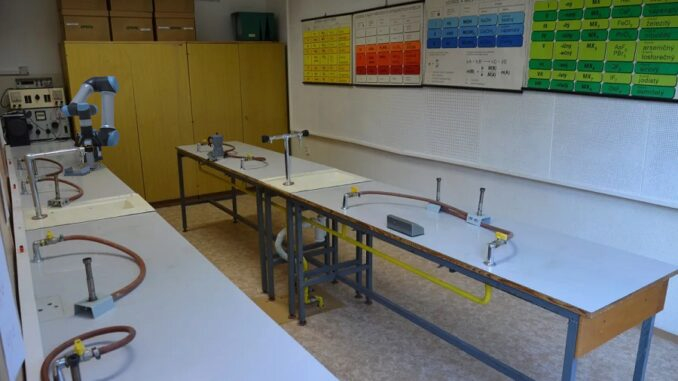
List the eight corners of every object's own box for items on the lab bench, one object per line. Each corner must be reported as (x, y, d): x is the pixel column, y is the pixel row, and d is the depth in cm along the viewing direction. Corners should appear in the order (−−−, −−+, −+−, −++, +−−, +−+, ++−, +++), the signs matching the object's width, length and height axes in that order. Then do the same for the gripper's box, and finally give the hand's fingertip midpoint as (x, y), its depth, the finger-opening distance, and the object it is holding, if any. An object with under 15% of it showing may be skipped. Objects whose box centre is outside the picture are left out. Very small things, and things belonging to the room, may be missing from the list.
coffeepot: (222, 153, 398) (220, 131, 394) (229, 154, 392) (227, 131, 387) (205, 156, 387) (203, 133, 383) (212, 157, 381) (210, 134, 376)
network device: (86, 165, 360) (81, 138, 355) (99, 164, 364) (95, 137, 359) (84, 171, 338) (80, 142, 333) (99, 170, 341) (94, 141, 336)
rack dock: (71, 172, 335) (70, 166, 334) (90, 172, 335) (89, 165, 334) (64, 176, 325) (63, 169, 324) (83, 175, 326) (82, 168, 324)
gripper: (65, 126, 340) (70, 157, 345) (101, 125, 340) (105, 156, 345) (71, 125, 347) (75, 155, 352) (106, 124, 347) (110, 154, 352)
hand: (90, 156), depth 349 cm, fingers open, 12 cm apart
